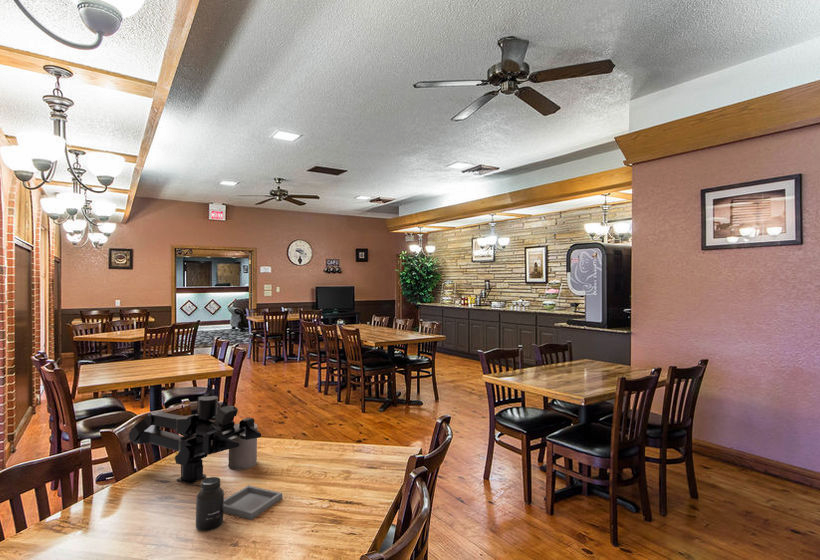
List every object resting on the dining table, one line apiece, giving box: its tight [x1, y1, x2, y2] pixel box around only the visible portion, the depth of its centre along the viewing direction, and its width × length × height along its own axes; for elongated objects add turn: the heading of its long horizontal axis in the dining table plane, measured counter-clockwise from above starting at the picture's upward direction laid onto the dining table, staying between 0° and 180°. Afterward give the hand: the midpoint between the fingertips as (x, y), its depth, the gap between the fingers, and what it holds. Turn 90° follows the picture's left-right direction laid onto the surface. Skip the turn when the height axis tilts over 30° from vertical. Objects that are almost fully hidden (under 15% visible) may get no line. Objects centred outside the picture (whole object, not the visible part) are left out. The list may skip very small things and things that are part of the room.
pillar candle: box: [227, 422, 258, 471], centre depth 161 cm, size 10×10×15 cm
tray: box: [223, 485, 283, 521], centre depth 132 cm, size 13×13×2 cm
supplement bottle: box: [195, 476, 225, 532], centre depth 121 cm, size 7×7×12 cm
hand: (250, 440), depth 138 cm, fingers open, 9 cm apart
